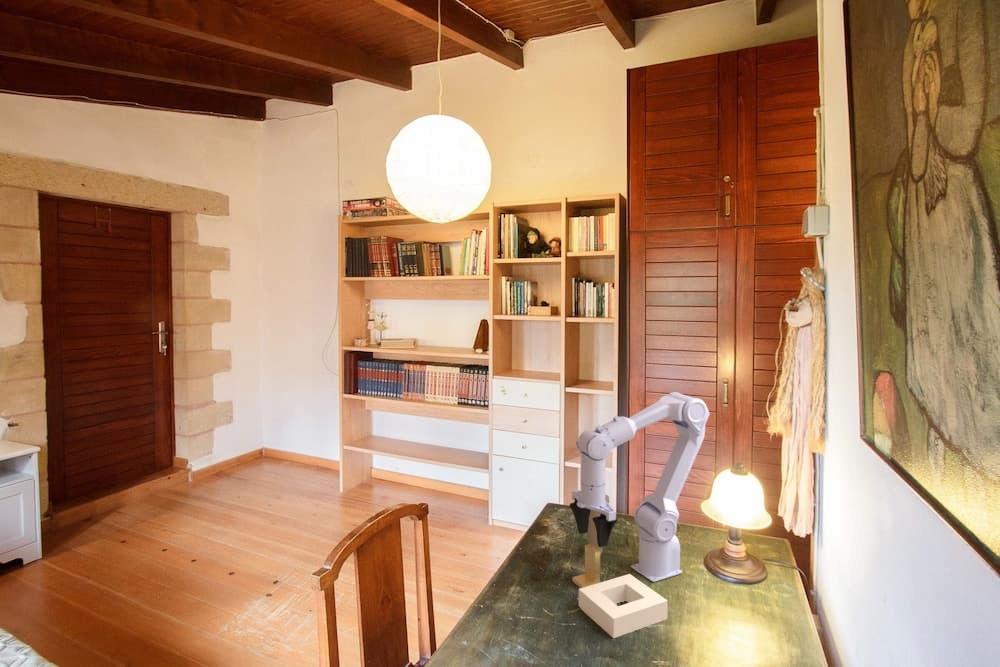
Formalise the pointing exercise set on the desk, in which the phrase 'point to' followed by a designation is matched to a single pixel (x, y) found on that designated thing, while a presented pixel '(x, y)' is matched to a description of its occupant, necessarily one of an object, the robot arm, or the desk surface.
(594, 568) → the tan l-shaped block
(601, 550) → the handle
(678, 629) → the desk surface
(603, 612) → the well block
